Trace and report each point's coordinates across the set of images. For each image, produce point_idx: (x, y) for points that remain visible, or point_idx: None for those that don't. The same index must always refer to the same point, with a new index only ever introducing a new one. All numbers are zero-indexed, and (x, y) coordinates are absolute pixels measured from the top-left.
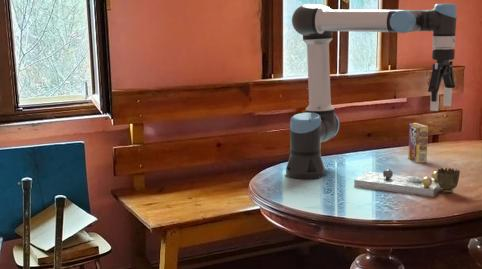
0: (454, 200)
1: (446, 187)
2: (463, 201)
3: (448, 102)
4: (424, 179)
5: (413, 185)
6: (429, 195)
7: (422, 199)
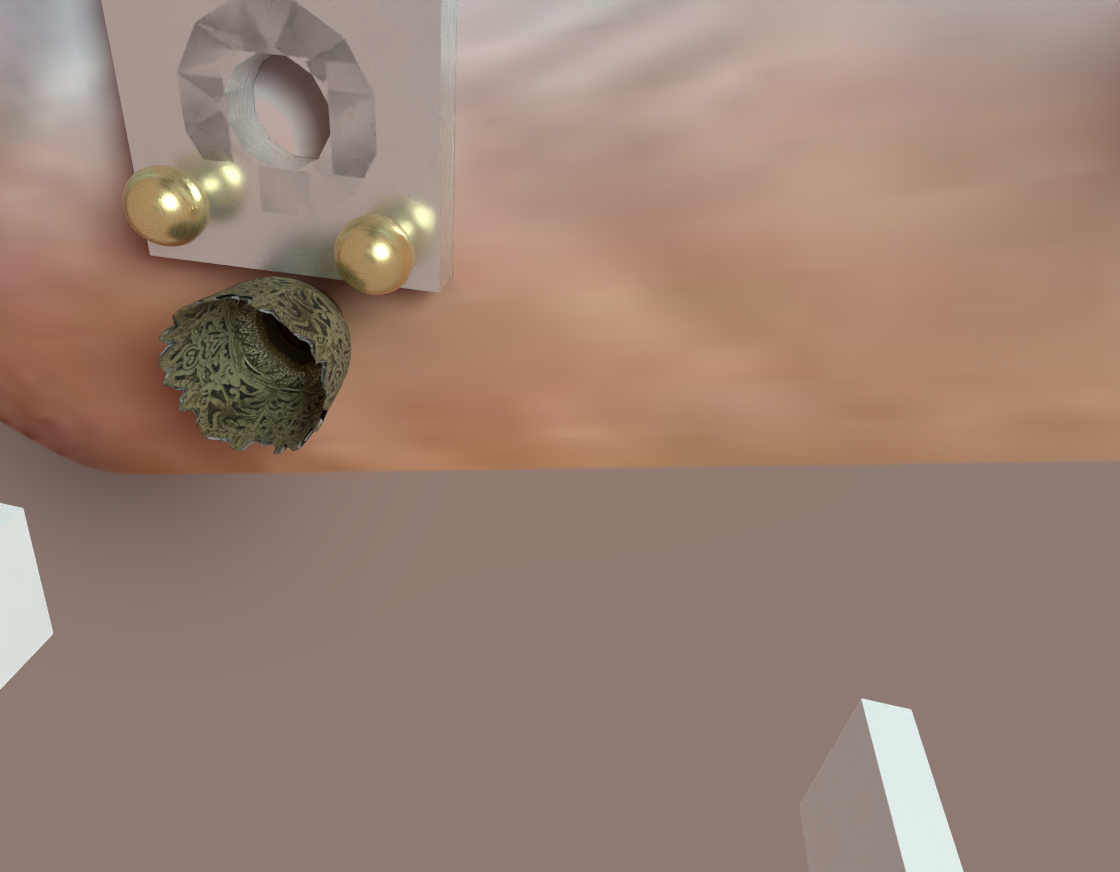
0: None
1: (238, 331)
2: None
3: (828, 854)
4: (123, 198)
5: (161, 92)
6: None
7: (80, 180)
